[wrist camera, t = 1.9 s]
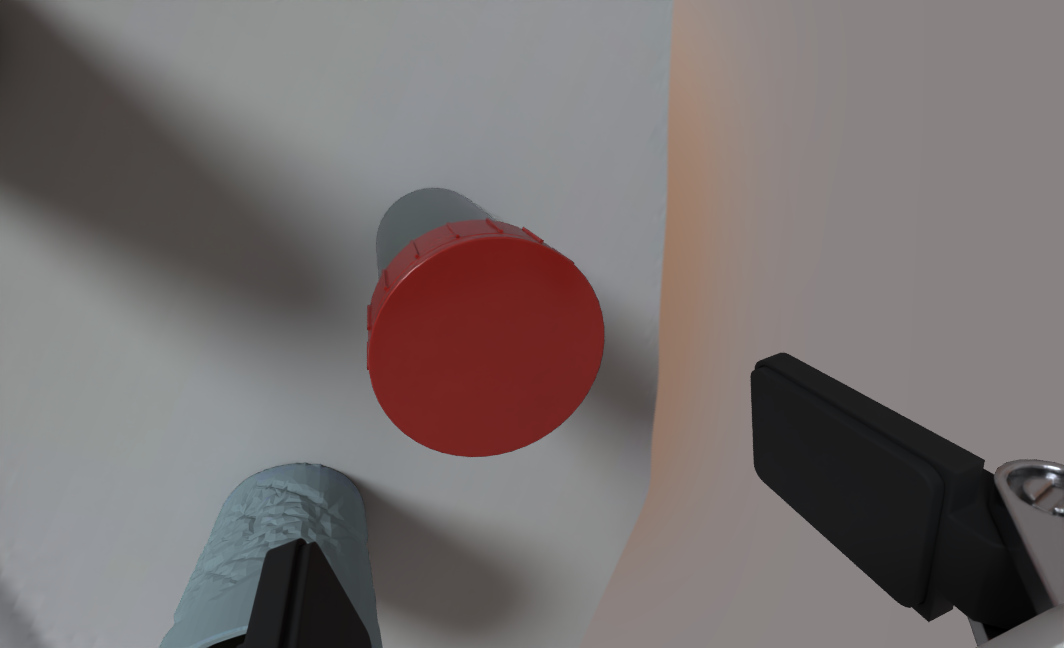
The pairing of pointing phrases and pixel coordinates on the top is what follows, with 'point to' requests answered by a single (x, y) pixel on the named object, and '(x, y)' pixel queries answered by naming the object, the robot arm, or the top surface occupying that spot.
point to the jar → (420, 219)
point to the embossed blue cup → (260, 525)
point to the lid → (482, 338)
